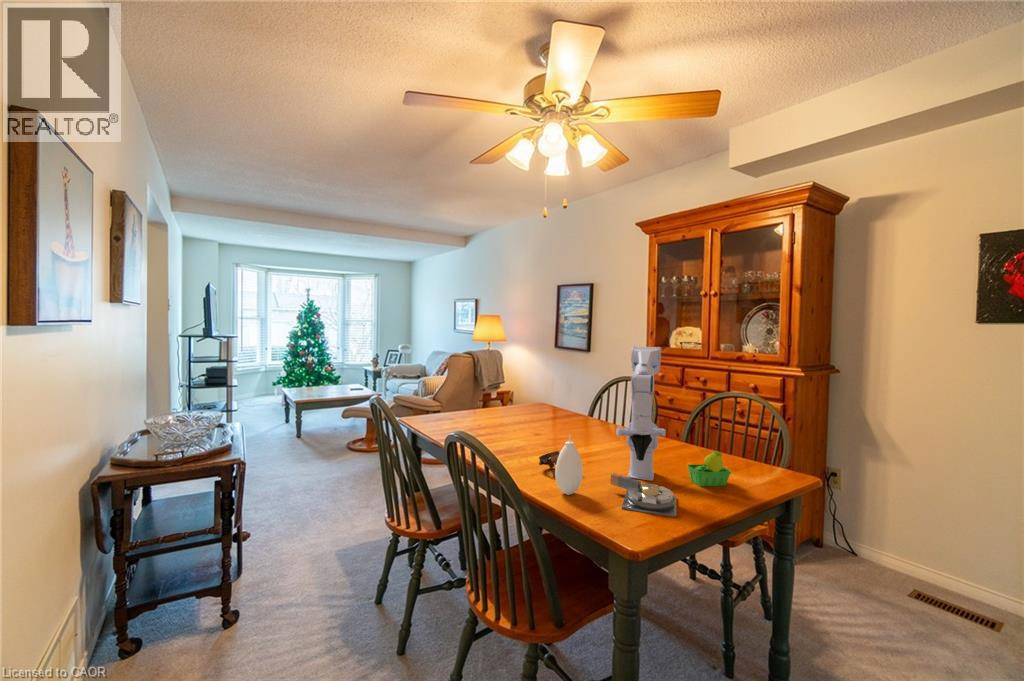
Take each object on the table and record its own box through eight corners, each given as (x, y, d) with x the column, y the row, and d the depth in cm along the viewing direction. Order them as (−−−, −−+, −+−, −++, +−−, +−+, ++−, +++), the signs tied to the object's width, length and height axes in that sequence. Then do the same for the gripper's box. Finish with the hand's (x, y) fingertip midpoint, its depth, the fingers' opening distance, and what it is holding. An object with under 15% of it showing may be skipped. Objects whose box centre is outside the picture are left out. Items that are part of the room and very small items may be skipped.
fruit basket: (717, 478, 150) (718, 445, 150) (734, 488, 141) (736, 452, 141) (685, 479, 148) (686, 445, 148) (700, 489, 140) (702, 453, 139)
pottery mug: (545, 480, 146) (538, 455, 149) (542, 483, 155) (535, 459, 158) (580, 469, 148) (572, 445, 151) (575, 473, 157) (567, 450, 160)
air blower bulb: (574, 501, 128) (575, 438, 128) (550, 494, 133) (551, 433, 132) (586, 492, 135) (588, 433, 134) (563, 486, 139) (564, 428, 139)
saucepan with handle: (611, 482, 138) (611, 472, 137) (672, 491, 132) (673, 480, 131) (605, 496, 126) (605, 486, 126) (672, 506, 120) (673, 495, 120)
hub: (626, 491, 137) (627, 476, 137) (676, 498, 132) (676, 482, 132) (621, 508, 124) (622, 492, 124) (676, 517, 119) (676, 500, 119)
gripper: (622, 417, 131) (620, 463, 131) (670, 417, 132) (669, 463, 133) (614, 412, 138) (613, 456, 138) (660, 412, 139) (659, 456, 140)
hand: (639, 459), depth 136 cm, fingers closed
